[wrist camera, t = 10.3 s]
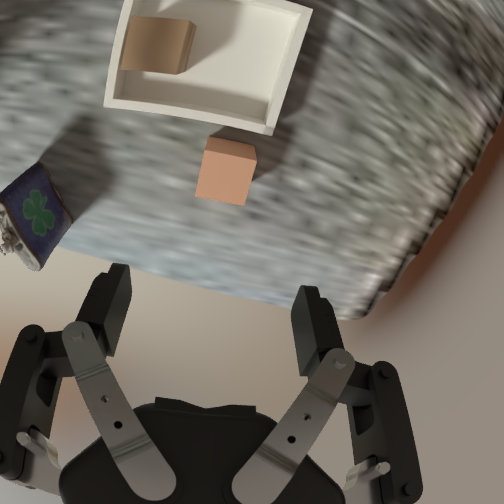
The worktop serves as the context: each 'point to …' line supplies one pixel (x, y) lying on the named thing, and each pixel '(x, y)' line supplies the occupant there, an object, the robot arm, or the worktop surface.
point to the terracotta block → (226, 171)
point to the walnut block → (158, 45)
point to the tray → (216, 62)
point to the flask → (32, 217)
